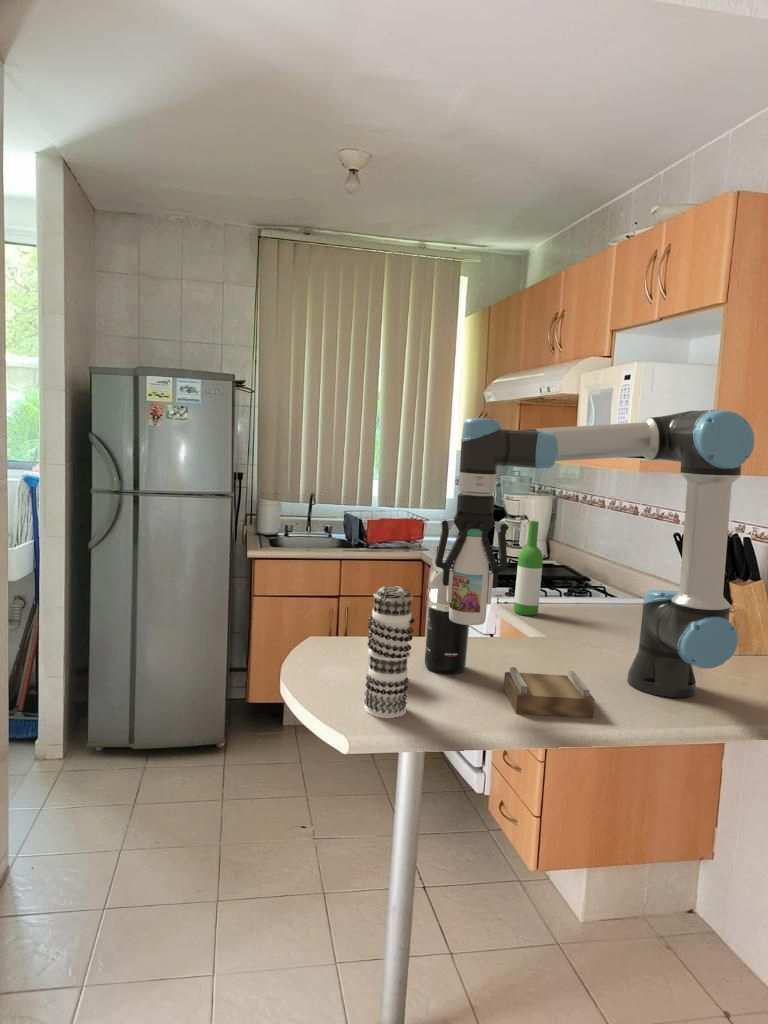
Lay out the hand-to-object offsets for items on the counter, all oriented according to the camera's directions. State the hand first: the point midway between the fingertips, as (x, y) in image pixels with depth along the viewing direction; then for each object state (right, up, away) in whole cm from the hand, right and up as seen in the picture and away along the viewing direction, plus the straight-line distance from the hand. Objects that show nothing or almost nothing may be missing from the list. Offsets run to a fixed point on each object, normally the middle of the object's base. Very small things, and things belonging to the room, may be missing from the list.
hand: (468, 601), depth 153 cm
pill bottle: (-18, -19, +13) cm, 29 cm away
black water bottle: (-3, -19, +22) cm, 29 cm away
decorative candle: (-18, -21, -6) cm, 28 cm away
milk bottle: (0, -4, +1) cm, 4 cm away
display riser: (+17, -22, +4) cm, 28 cm away
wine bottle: (+28, -14, +82) cm, 88 cm away
